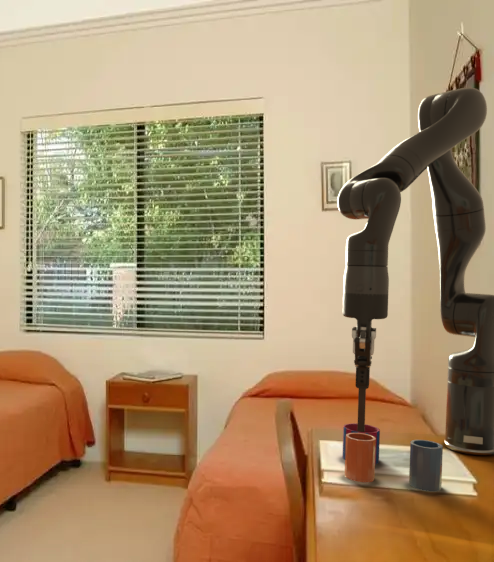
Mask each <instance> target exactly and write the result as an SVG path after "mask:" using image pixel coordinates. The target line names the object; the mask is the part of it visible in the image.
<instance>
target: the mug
mask: <svg viewBox="0 0 494 562" xmlns="http://www.w3.org/2000/svg"><path fill="white" fill-rule="evenodd" d="M357 426H358V422H357V423H355V422H354V423H351V422H350V423H345V424H344V425H343V428H342V429H343V430H342V459H343V460H344V461H345V446H346V434H348V433H364V434H368V435H371V436H374V437H375V438H376V448H375V465H377V464H379V463H380V438H381V430H380V428H379V427H377V426H374V425H371V424H366V423H365V432H359V431H357Z"/></svg>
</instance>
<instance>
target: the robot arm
mask: <svg viewBox="0 0 494 562" xmlns="http://www.w3.org/2000/svg"><path fill="white" fill-rule="evenodd" d="M487 115H488V105H487V101H486V98H485V96H484V94H483V93H482V92H481V90H479V89H478V88H474V87H462V88H457V89H452V90H447V91H443V92H440V93H434V94H431V95H428V96H425V97H424V98H423V99H422V100H421V102H420V104H419V106H418V111H417V122H418V123H417V125H418V132H416V133H415V134H413V135H411V136H409V137H407V138H406V139H404V140H402V141H400V142H399V143H398V144H396V145H395V146H393V148H391V149H390V150H389V151H388V152H387V153H386V154H385V155H384V156H383V157H381V159H380V160H379V161H378V162H377V163H375V164H374V165H372V166H370V167H367V168H366V169H365V170H363V171H361V172H360V173H358V174H356V175H354V176H353V177H352V178H350V179H349V180H347V182H345V183H344V185H343V186H342V187H341V189H340V190H339V193H338V195H337V199H336V200H337V201H336V203H337V208H338V211H339V212H340V214H341V215H342V216H343V217H345V218H346V219H349V220H367V221H366V224H365V226H364V228H363V229H362V230H360V231H357V232H354V233H351V234H349V235H348V236H347V238H346V241H345V242H346V243H345V267H344V273H343V281H342V282H343V283H342V310H341V311H342V313H341V314H342V316H343V317H345V318H348V319H355V320H356V326H352V327H351V338H352V354H353V355H354V360H353V363H354V366H355V388H357V389H359V388H360V389H366V390H367V389H369V388H370V378H371V377H370V376H371V375H370V372H371V367H372V359H373V355H374V352H375V340H376V337H377V327H372V326H373V325H372V321H373V320H384V319H387V318H388V315H389V287H390V278H389V267H388V266H389V245H390V240H391V238H392V234H393V231H394V228H395V224H396V221H397V218H398V215H399V212H400V209H401V203H402V194H401V193H403V192H404V191H405V190H407V189H408V188H410V186H411V185H412V184H413V183H414V182H415V181H416V180H417V179H418V177H420V176H421V175H422V174H423V173H424V172H425V170H427V173H428V174H427V175H428V181H429V188H430V189H429V190H430V198H431V208H432V219H433V220H432V221H433V228H434V235H435V242H436V249H437V258H438V259H437V261H438V269H439V309H440V310H439V311H440V312H439V313H440V320H441V324H442V326H443V328H444V331H446V332H447V334H450V335H455V336H461V337H470V338H474V343H473V345H472V346H471V347H469V348H468V349H465V350H461V351H455V352H452V353H449V355H448V358H447V379H446V380H447V381H446V382H447V384H446V407H445V408H446V411H445V432H444V433H445V434H444V435H445V436H444V446H445V447H446V448H447V449H449V450H452V451H454V452H458V453H462V454H466V455H471V456H472V455H473V456H492V455H494V294H488V293H470V292H466V290H465V275H466V271H467V268H468V266H469V263H470V262H471V260H472V258H473V257H474V255H475V253H476V252H477V251H478V249H479V247H480V246H481V243H482V241H483V240H484V237H485V234H486V229H487V227H486V217H485V207H484V200H483V198H482V196H481V193H480V192H479V191H478V189H477V188H476V187H475V185H474V184H473V183H472V182H471V180H470V179H469V178H468V177H467V176H466V175H465V174H464V172H463V171H462V170H461V168H460V167H459V166H458V164H457V162H456V160H455V158H454V155H453V151H452V149H453V148H455V147H456V146H457V145H459V144H460V143H463V142H464V141H465V140H466V139H468V138H469V137H471V136H473V135H474V134H476V133H477V132H478V131H479V130H480V129H481V128H482V127H483V125H484V123H485V121H486V119H487Z"/></svg>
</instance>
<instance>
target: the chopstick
mask: <svg viewBox="0 0 494 562" xmlns="http://www.w3.org/2000/svg"><path fill="white" fill-rule="evenodd" d="M366 397H367V389H360V388H358V396H357V398H358V399H357V424H358V426H357V431H359V432H365V424H366V406H367V405H366V404H367V403H366V401H367V398H366Z"/></svg>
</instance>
